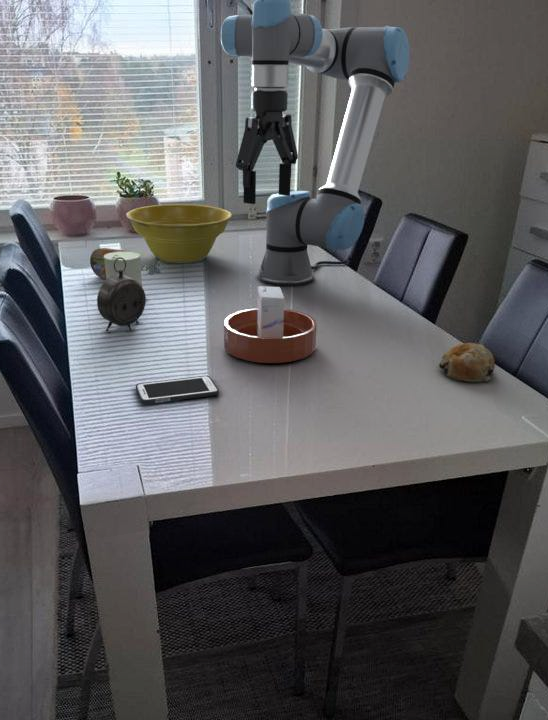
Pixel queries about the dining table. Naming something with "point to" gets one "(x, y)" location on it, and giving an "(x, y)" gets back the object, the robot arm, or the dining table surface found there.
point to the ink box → (270, 312)
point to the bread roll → (468, 363)
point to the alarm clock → (121, 300)
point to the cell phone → (176, 389)
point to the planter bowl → (179, 230)
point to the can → (123, 264)
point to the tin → (101, 260)
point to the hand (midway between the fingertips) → (267, 199)
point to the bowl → (270, 349)
